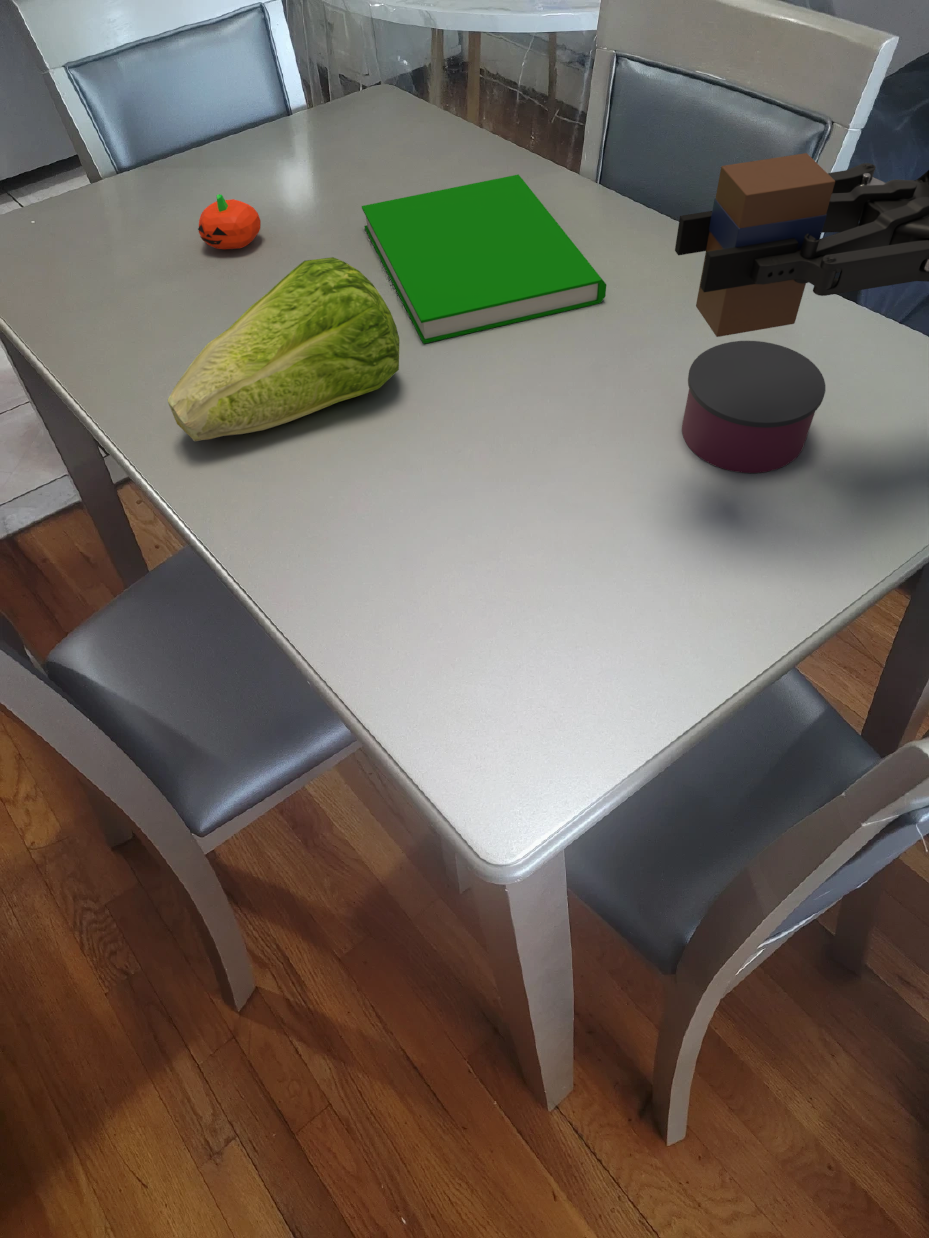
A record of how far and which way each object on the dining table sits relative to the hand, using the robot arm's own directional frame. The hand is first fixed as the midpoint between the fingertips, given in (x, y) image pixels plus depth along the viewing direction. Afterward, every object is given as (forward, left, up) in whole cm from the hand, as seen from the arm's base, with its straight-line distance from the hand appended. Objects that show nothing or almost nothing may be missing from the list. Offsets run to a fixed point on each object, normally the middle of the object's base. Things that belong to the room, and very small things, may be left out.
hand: (692, 253), depth 63 cm
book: (+43, -16, -24) cm, 52 cm away
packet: (-3, -5, -6) cm, 8 cm away
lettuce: (+37, +17, -24) cm, 47 cm away
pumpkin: (+70, +3, -24) cm, 74 cm away
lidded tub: (0, -13, -24) cm, 28 cm away
